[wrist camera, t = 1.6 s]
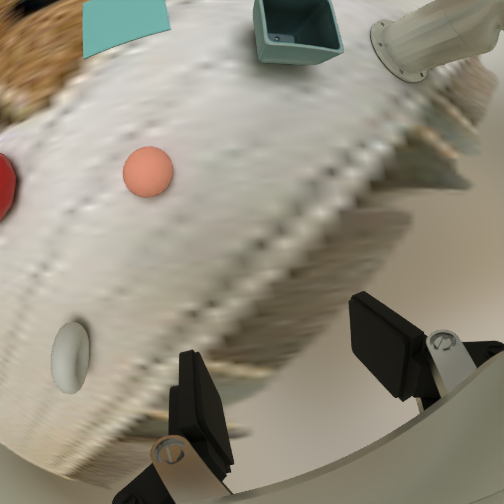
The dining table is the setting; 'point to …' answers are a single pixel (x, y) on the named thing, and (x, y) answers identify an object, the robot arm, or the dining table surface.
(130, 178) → the ball
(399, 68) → the robot arm
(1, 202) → the pomegranate
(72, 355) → the donut
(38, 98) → the dining table surface
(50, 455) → the dining table surface
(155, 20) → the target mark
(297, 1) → the flower pot
